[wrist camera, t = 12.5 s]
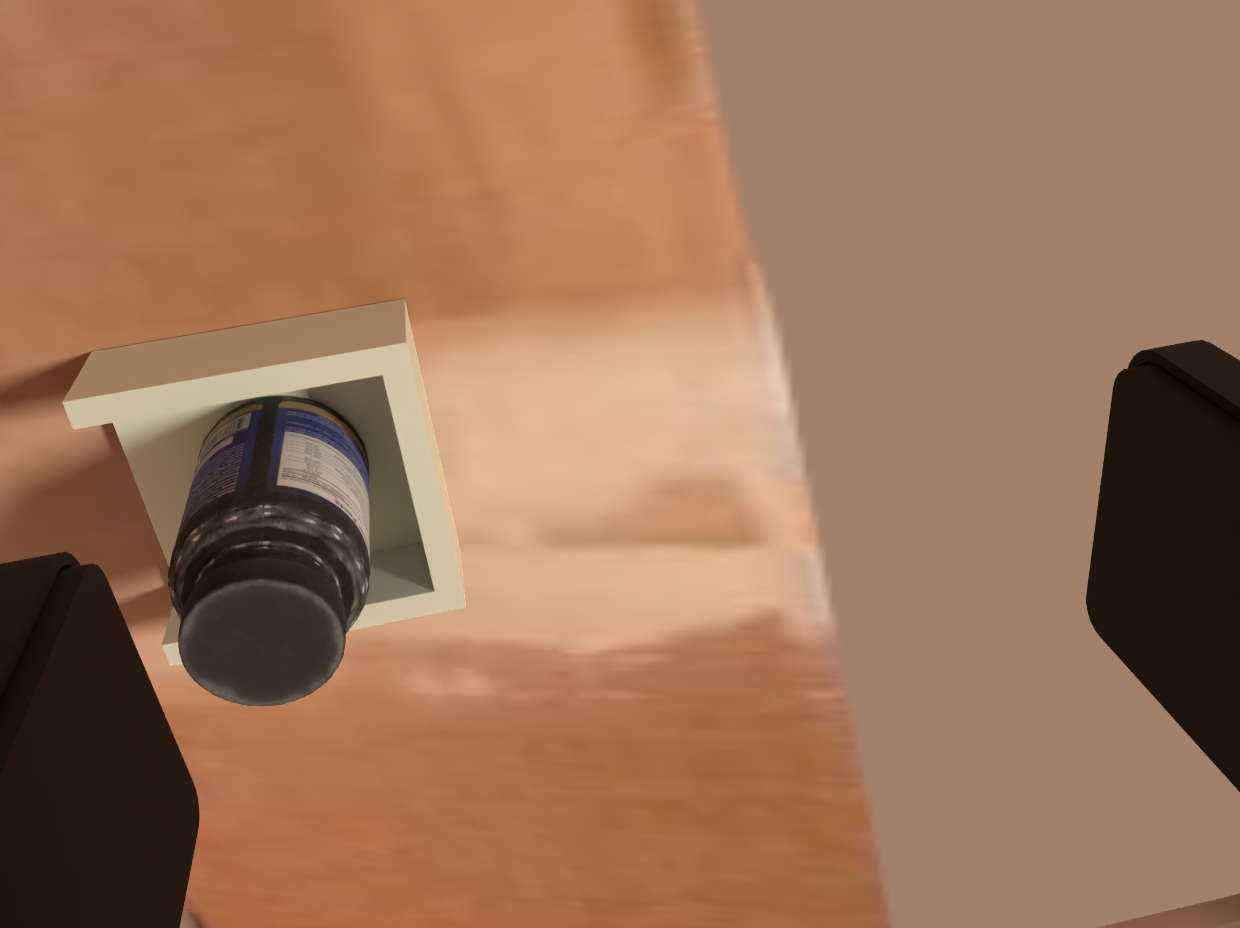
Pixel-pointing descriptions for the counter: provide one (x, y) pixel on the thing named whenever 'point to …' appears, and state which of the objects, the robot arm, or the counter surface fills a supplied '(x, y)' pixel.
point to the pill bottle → (272, 551)
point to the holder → (302, 367)
